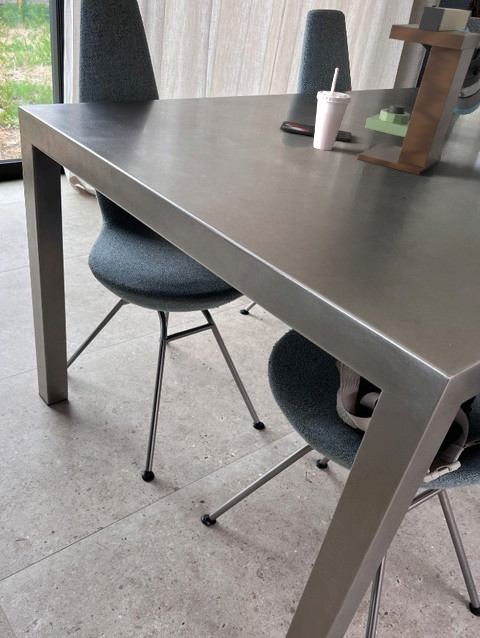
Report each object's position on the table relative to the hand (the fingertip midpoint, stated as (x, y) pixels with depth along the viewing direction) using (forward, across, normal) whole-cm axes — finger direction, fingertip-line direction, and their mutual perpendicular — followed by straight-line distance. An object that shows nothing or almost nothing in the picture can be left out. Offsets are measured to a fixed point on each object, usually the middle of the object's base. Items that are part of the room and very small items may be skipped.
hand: (465, 17), depth 110 cm
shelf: (+5, 0, -30) cm, 31 cm away
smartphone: (+1, +20, -28) cm, 34 cm away
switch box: (-18, +10, -17) cm, 27 cm away
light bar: (+12, 0, -9) cm, 16 cm away
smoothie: (+9, +14, -33) cm, 37 cm away
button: (-16, +10, -14) cm, 23 cm away
